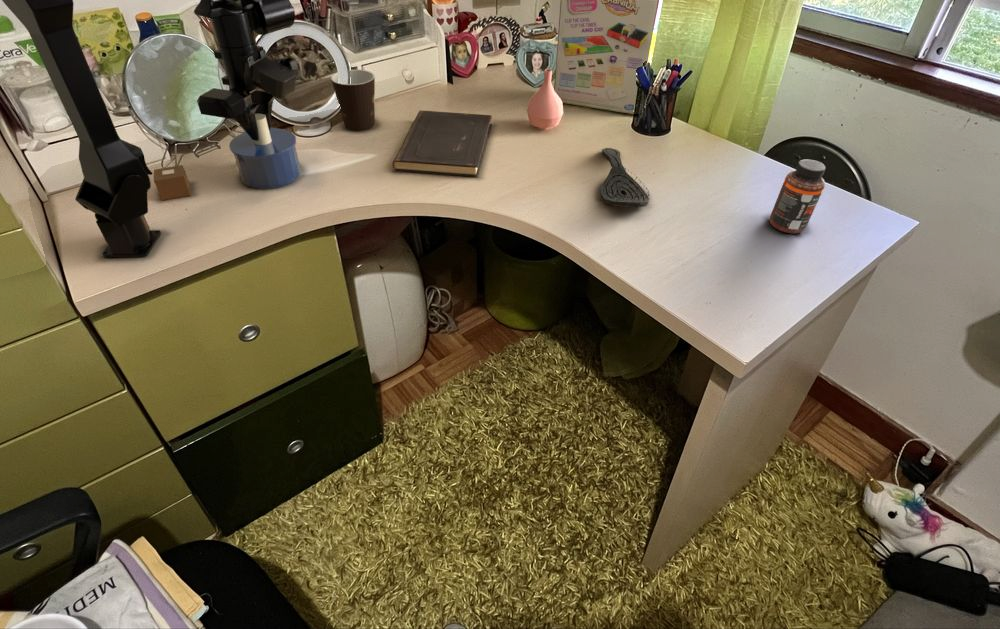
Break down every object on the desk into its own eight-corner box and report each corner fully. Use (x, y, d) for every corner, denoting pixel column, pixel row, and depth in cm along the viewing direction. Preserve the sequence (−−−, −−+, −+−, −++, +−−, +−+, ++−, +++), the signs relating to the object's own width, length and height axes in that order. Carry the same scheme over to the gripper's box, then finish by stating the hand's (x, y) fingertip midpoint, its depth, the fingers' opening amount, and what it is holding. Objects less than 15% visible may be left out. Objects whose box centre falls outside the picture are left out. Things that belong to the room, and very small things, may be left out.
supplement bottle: (801, 239, 96) (829, 177, 88) (764, 228, 98) (788, 166, 90) (808, 222, 100) (835, 162, 92) (772, 212, 102) (796, 152, 94)
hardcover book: (491, 125, 125) (491, 115, 124) (477, 177, 108) (477, 166, 107) (418, 120, 126) (417, 110, 125) (393, 171, 109) (392, 159, 108)
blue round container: (294, 188, 103) (287, 157, 99) (234, 189, 103) (225, 158, 99) (305, 161, 111) (299, 131, 107) (249, 161, 110) (241, 131, 106)
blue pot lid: (290, 162, 100) (282, 131, 96) (223, 162, 99) (213, 131, 95) (302, 133, 108) (296, 103, 104) (240, 133, 107) (231, 103, 103)
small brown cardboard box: (191, 195, 101) (183, 175, 98) (161, 200, 99) (153, 179, 97) (189, 184, 104) (182, 163, 101) (161, 189, 102) (153, 168, 100)
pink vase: (538, 116, 129) (542, 61, 121) (568, 126, 126) (574, 69, 118) (518, 128, 124) (521, 71, 116) (549, 138, 121) (554, 80, 113)
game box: (643, 108, 134) (669, -25, 116) (639, 117, 130) (665, -20, 112) (557, 93, 139) (569, -37, 121) (550, 101, 136) (562, -31, 117)
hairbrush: (630, 138, 116) (658, 198, 96) (627, 156, 118) (654, 217, 99) (588, 138, 116) (608, 197, 96) (586, 155, 118) (605, 217, 98)
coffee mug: (371, 135, 120) (365, 86, 113) (332, 130, 121) (323, 82, 114) (390, 113, 129) (385, 66, 122) (353, 109, 130) (347, 62, 123)
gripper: (246, 68, 83) (272, 167, 94) (312, 31, 97) (328, 121, 107) (180, 59, 85) (212, 157, 96) (254, 23, 99) (275, 113, 109)
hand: (261, 136), depth 102 cm, fingers closed on blue pot lid, 3 cm apart
